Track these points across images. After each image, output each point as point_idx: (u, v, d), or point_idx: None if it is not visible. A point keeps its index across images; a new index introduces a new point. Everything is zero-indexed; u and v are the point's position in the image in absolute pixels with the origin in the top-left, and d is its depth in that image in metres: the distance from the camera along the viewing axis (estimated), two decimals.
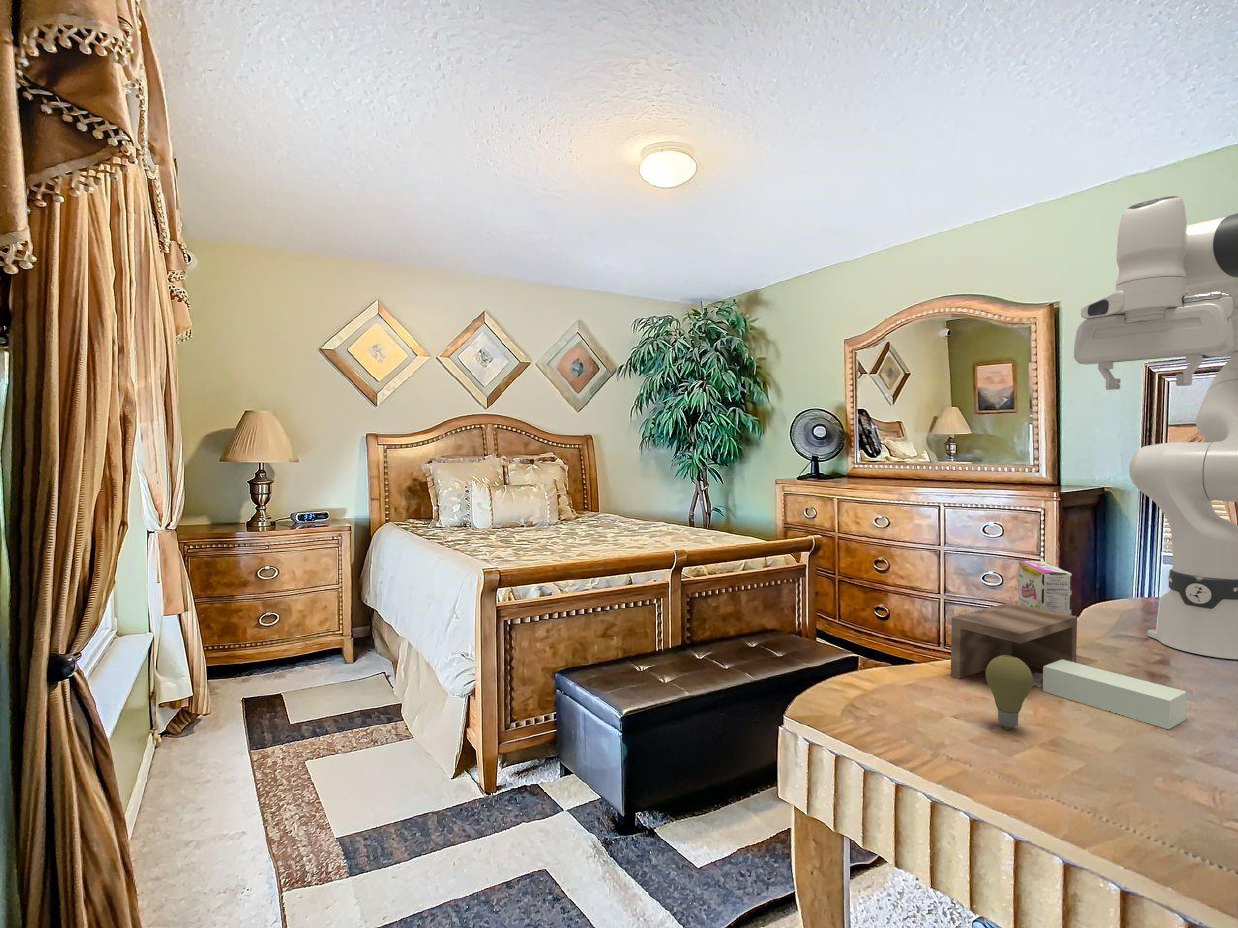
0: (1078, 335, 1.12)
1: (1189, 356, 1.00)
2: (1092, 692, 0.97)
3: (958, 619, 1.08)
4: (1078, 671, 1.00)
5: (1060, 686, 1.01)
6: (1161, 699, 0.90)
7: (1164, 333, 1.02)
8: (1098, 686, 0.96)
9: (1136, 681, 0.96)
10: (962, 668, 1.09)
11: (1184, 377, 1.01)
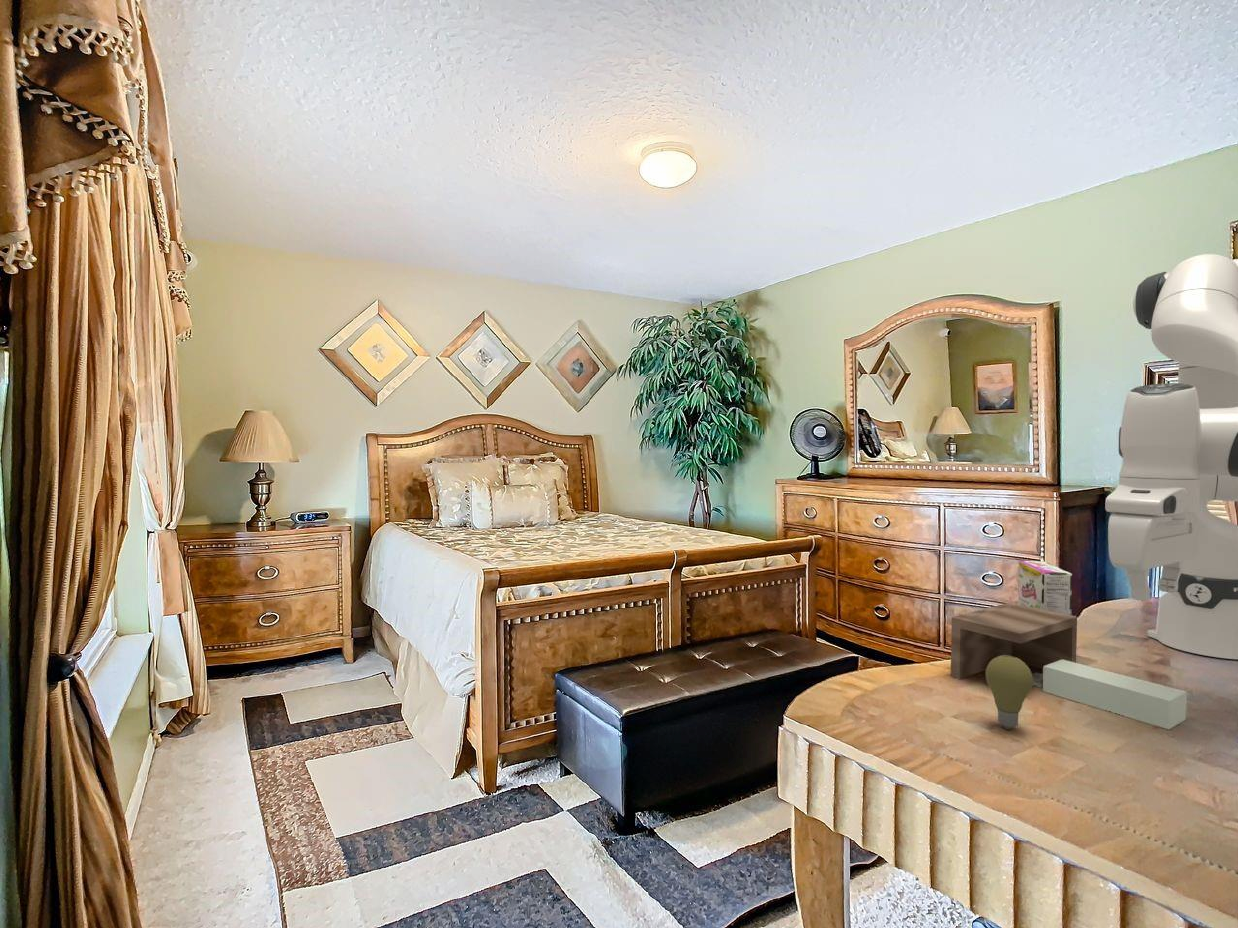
0: (1149, 536, 0.86)
1: (1180, 562, 0.95)
2: (1092, 692, 0.97)
3: (958, 619, 1.08)
4: (1078, 671, 1.00)
5: (1060, 686, 1.01)
6: (1161, 699, 0.90)
7: (1179, 537, 0.92)
8: (1098, 686, 0.96)
9: (1136, 681, 0.96)
10: (962, 668, 1.09)
11: (1177, 584, 0.95)
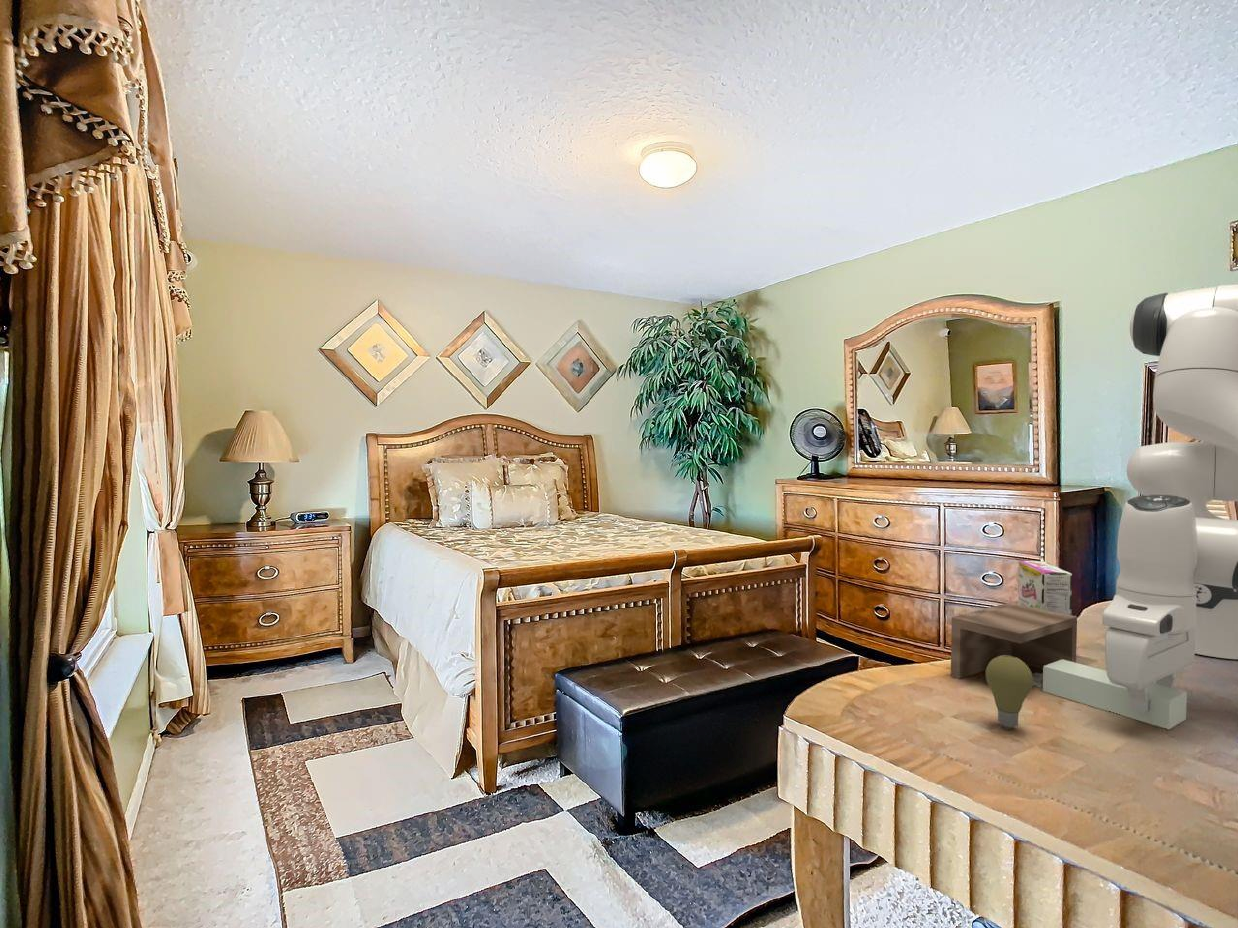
0: (1146, 656, 0.86)
1: None
2: (1092, 692, 0.97)
3: (958, 619, 1.08)
4: (1078, 671, 1.01)
5: (1060, 686, 1.01)
6: (1161, 699, 0.90)
7: (1176, 648, 0.93)
8: (1098, 686, 0.97)
9: None
10: (962, 668, 1.09)
11: None
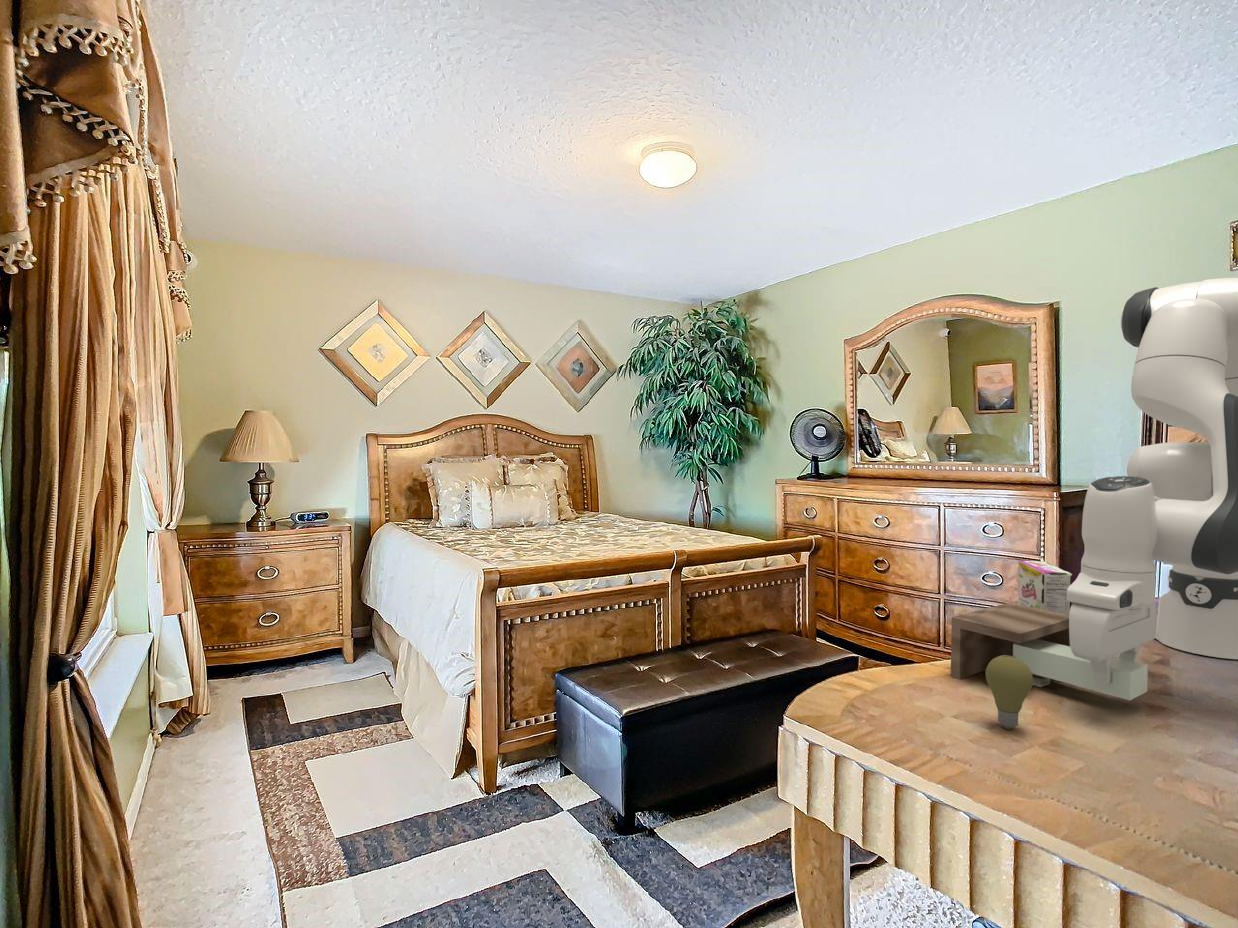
0: (1106, 629, 0.90)
1: None
2: (1059, 667, 1.01)
3: (958, 619, 1.08)
4: (1046, 648, 1.04)
5: (1029, 662, 1.05)
6: (1122, 671, 0.94)
7: (1137, 623, 0.97)
8: (1064, 661, 1.00)
9: None
10: (962, 668, 1.09)
11: None
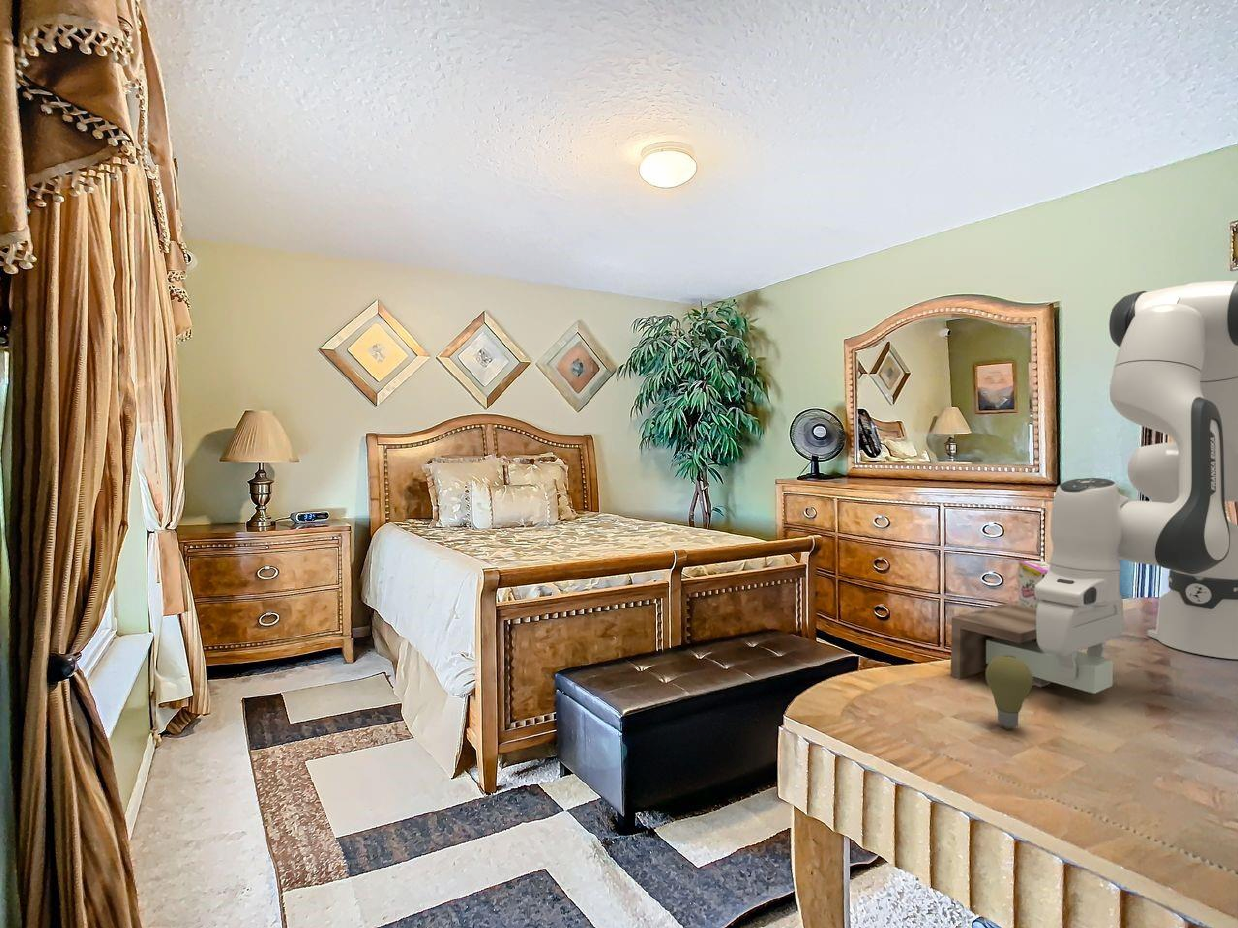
0: (1071, 625, 0.94)
1: (1103, 641, 1.02)
2: (1029, 662, 1.05)
3: (958, 619, 1.08)
4: (1017, 644, 1.08)
5: None
6: (1087, 666, 0.97)
7: (1104, 620, 1.01)
8: (1033, 657, 1.04)
9: None
10: (962, 668, 1.09)
11: None
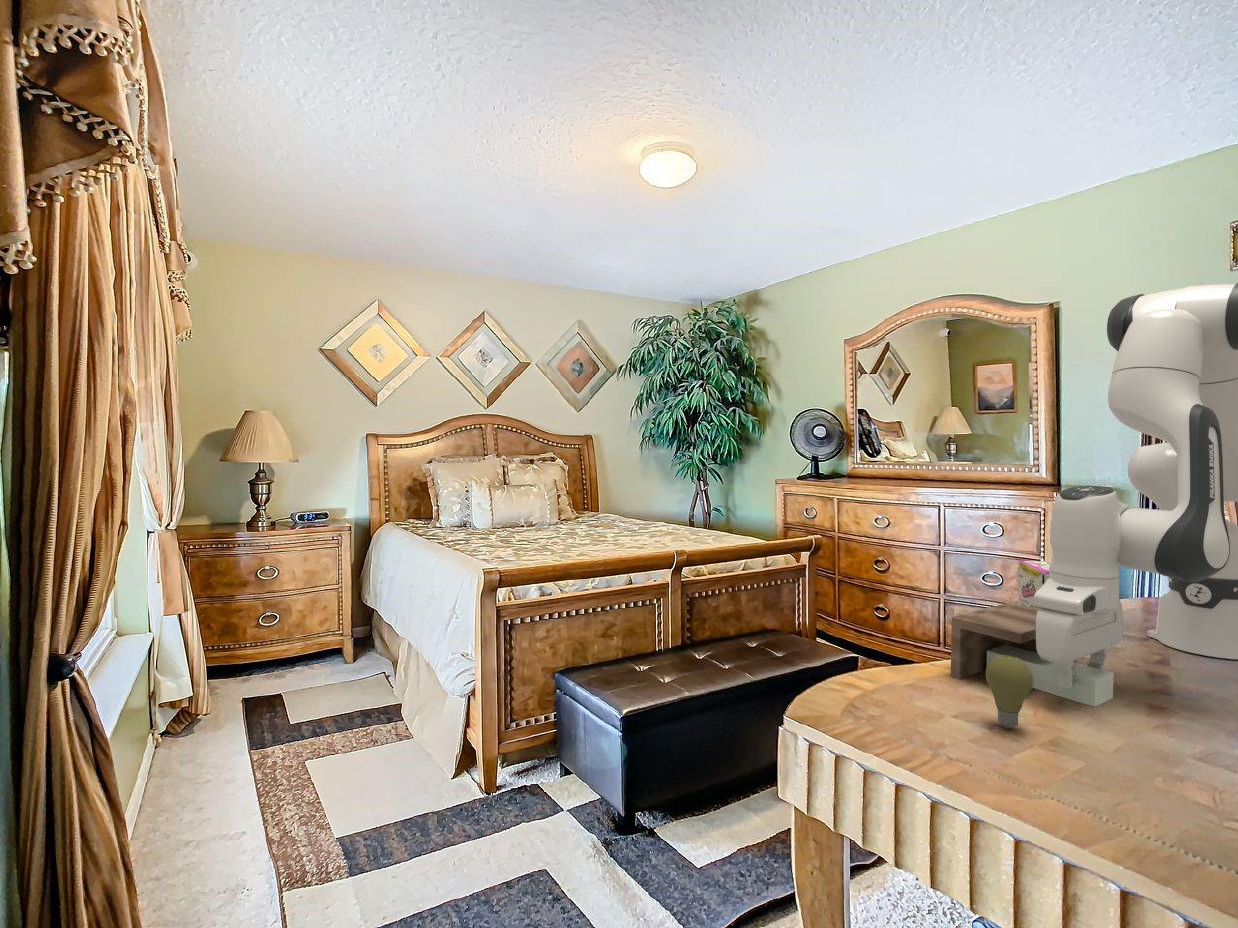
0: (1070, 633, 0.94)
1: (1105, 647, 1.03)
2: None
3: (958, 619, 1.08)
4: (1018, 655, 1.08)
5: None
6: (1088, 679, 0.98)
7: (1103, 627, 1.01)
8: (1034, 668, 1.04)
9: None
10: (962, 668, 1.09)
11: (1102, 668, 1.03)
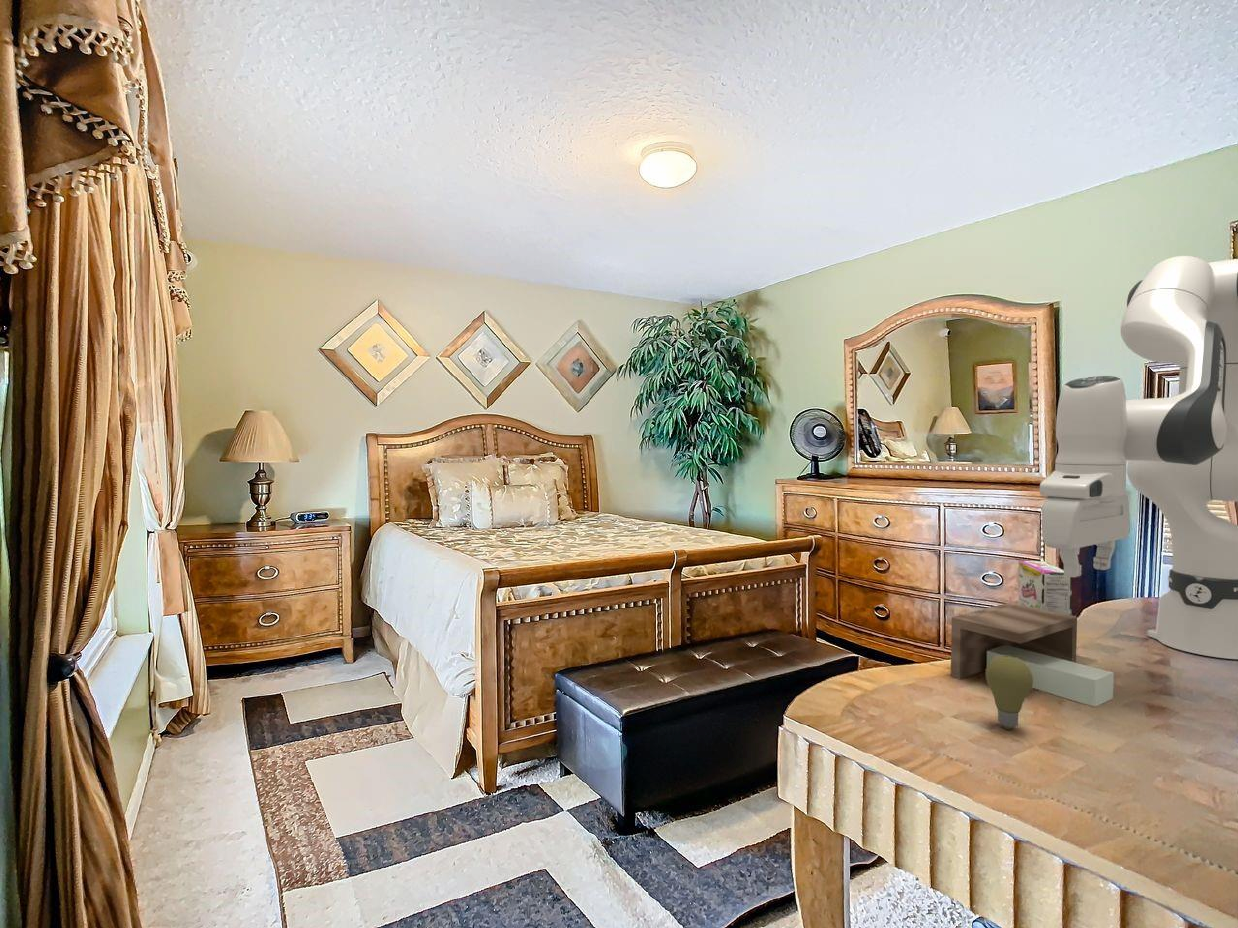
0: (1077, 517, 0.93)
1: (1112, 541, 1.02)
2: None
3: (958, 619, 1.08)
4: (1018, 655, 1.08)
5: None
6: (1088, 679, 0.98)
7: (1110, 519, 1.00)
8: (1034, 668, 1.04)
9: (1069, 663, 1.04)
10: (962, 668, 1.09)
11: (1109, 562, 1.02)
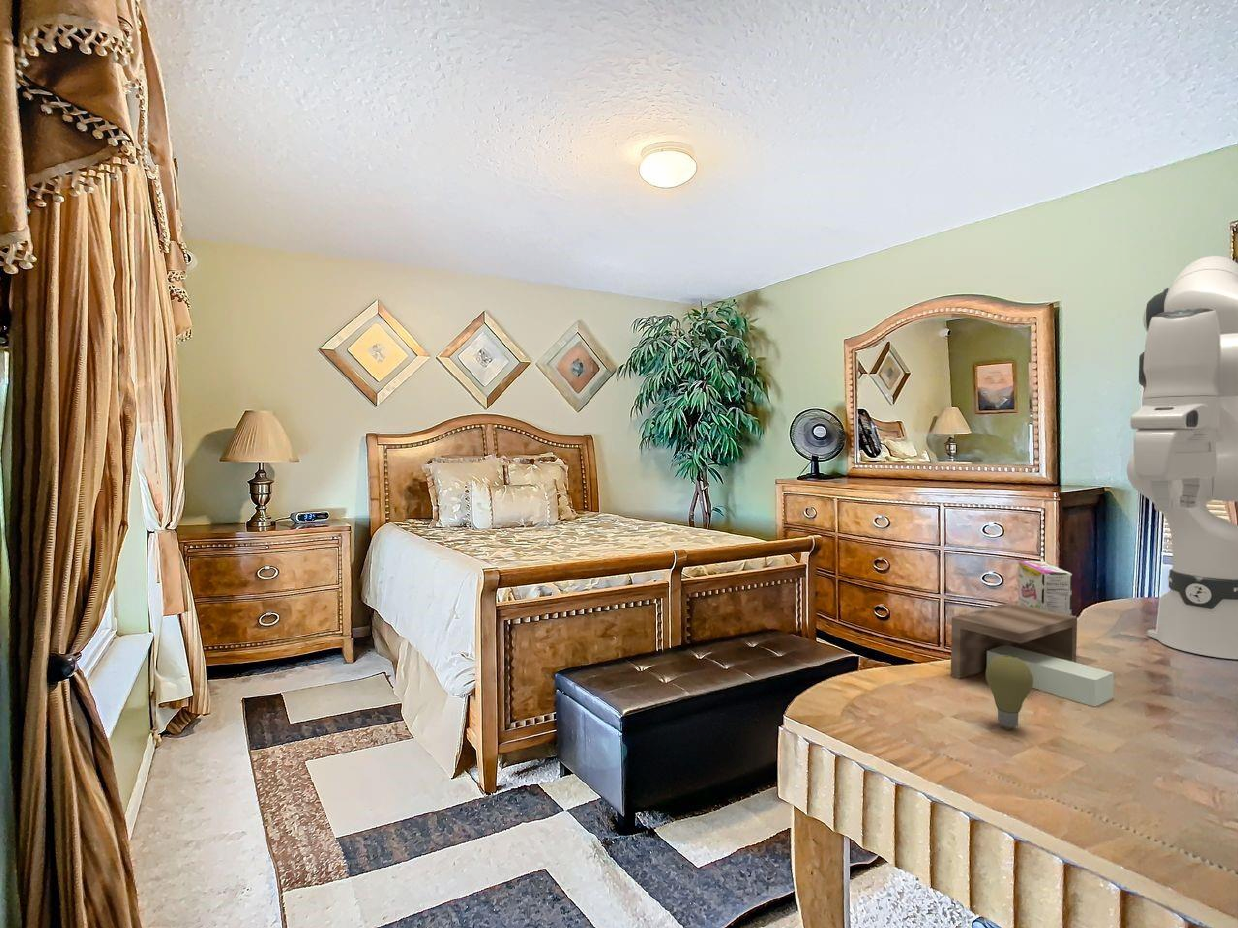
0: (1173, 447, 0.91)
1: (1199, 479, 1.00)
2: None
3: (958, 619, 1.08)
4: (1018, 655, 1.08)
5: None
6: (1088, 679, 0.98)
7: (1200, 454, 0.98)
8: (1034, 668, 1.04)
9: (1069, 663, 1.04)
10: (962, 668, 1.09)
11: (1197, 500, 1.00)
